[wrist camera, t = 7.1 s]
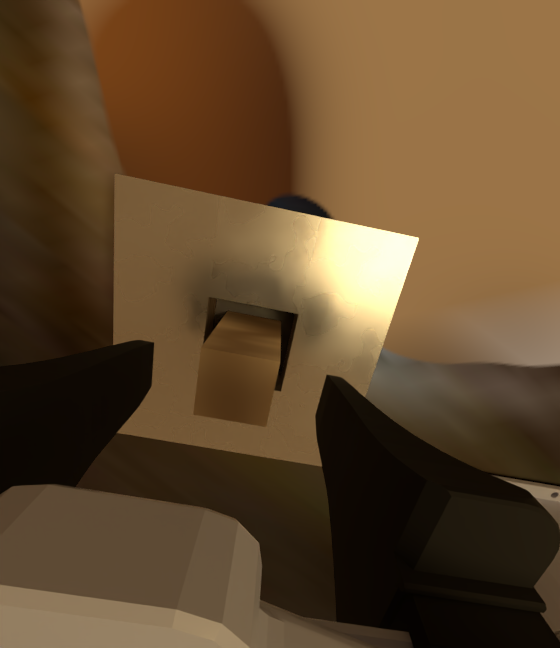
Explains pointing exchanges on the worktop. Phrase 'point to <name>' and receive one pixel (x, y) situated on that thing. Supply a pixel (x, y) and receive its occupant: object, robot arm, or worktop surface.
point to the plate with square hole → (254, 289)
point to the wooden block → (239, 369)
